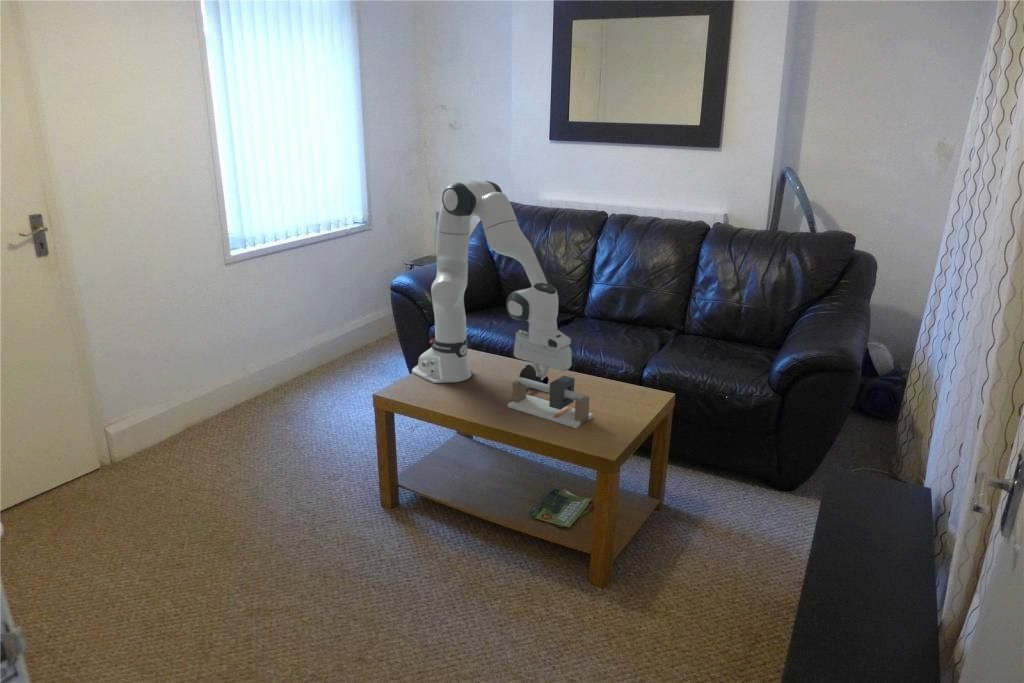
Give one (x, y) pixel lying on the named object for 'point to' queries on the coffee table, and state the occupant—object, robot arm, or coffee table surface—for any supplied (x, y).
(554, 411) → the rail
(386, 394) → the coffee table surface
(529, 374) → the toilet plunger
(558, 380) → the collar
